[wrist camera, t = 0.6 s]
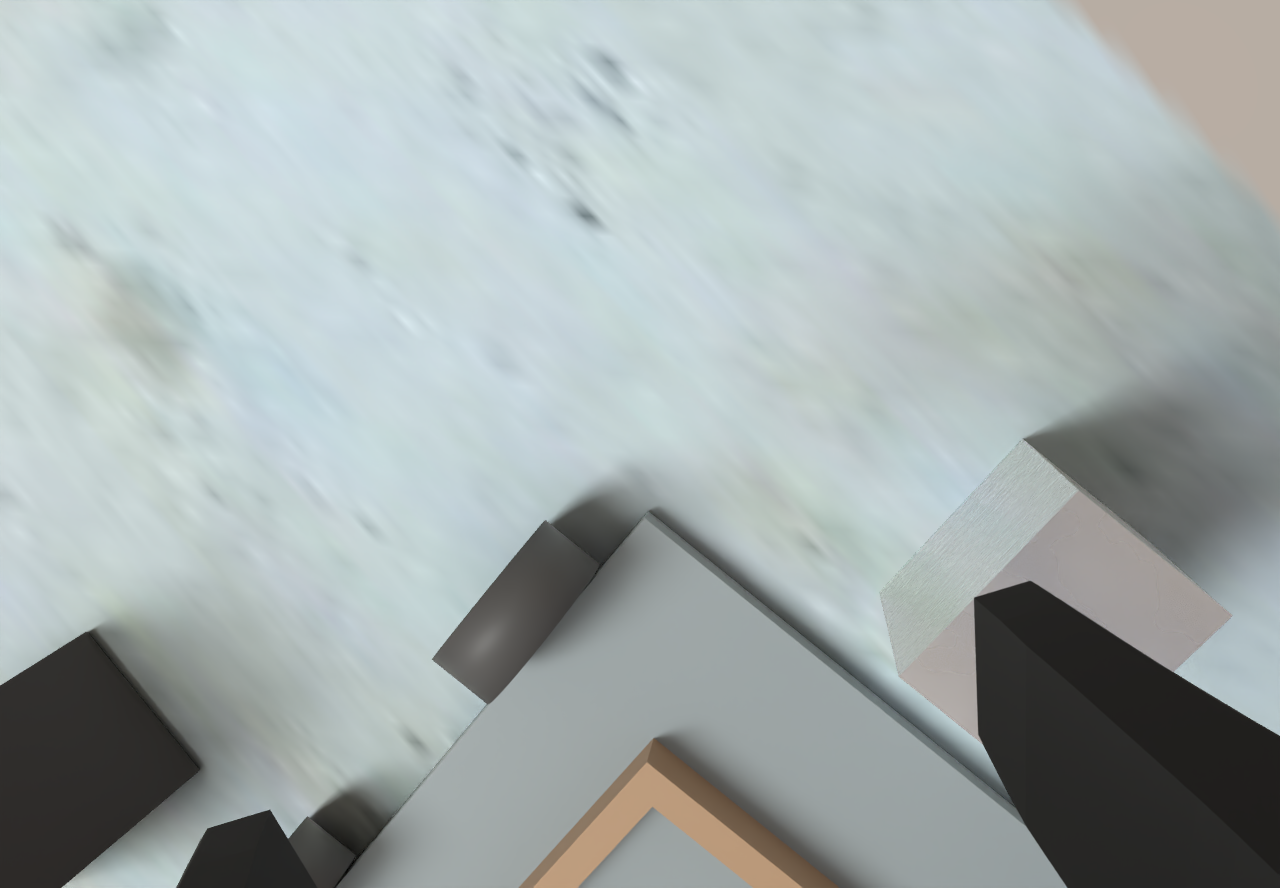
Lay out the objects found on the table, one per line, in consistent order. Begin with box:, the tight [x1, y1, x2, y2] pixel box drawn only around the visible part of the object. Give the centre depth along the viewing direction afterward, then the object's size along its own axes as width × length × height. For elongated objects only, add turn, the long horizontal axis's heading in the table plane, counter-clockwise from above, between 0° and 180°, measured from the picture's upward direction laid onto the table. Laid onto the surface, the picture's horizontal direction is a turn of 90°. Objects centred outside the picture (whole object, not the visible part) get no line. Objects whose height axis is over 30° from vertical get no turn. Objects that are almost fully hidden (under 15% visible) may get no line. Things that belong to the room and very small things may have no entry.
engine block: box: [879, 439, 1232, 744], centre depth 27 cm, size 4×6×6 cm
